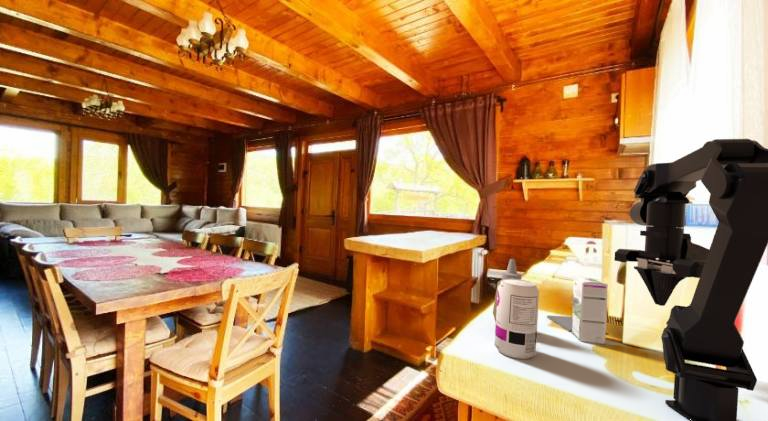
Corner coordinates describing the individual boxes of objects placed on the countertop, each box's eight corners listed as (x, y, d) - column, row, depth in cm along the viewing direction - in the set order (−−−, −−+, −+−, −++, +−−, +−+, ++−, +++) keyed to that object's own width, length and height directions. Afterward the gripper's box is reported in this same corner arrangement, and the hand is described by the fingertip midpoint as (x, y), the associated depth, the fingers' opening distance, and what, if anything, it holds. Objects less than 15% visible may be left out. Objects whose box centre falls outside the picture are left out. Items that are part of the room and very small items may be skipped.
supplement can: (487, 350, 69) (491, 280, 69) (504, 340, 75) (508, 276, 75) (526, 364, 63) (530, 288, 63) (541, 353, 69) (545, 283, 69)
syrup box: (606, 344, 76) (609, 283, 76) (578, 341, 77) (582, 281, 77) (595, 335, 81) (598, 278, 81) (570, 332, 82) (573, 276, 82)
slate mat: (607, 333, 83) (607, 331, 83) (569, 331, 83) (569, 329, 83) (580, 319, 94) (580, 317, 94) (547, 317, 94) (547, 315, 94)
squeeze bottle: (485, 325, 84) (489, 257, 84) (507, 322, 88) (511, 256, 88) (509, 336, 77) (513, 262, 77) (532, 333, 81) (536, 261, 80)
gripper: (759, 232, 55) (754, 323, 55) (662, 226, 73) (658, 294, 73) (696, 229, 55) (690, 320, 55) (614, 224, 73) (610, 292, 73)
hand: (659, 304), depth 64 cm, fingers closed
